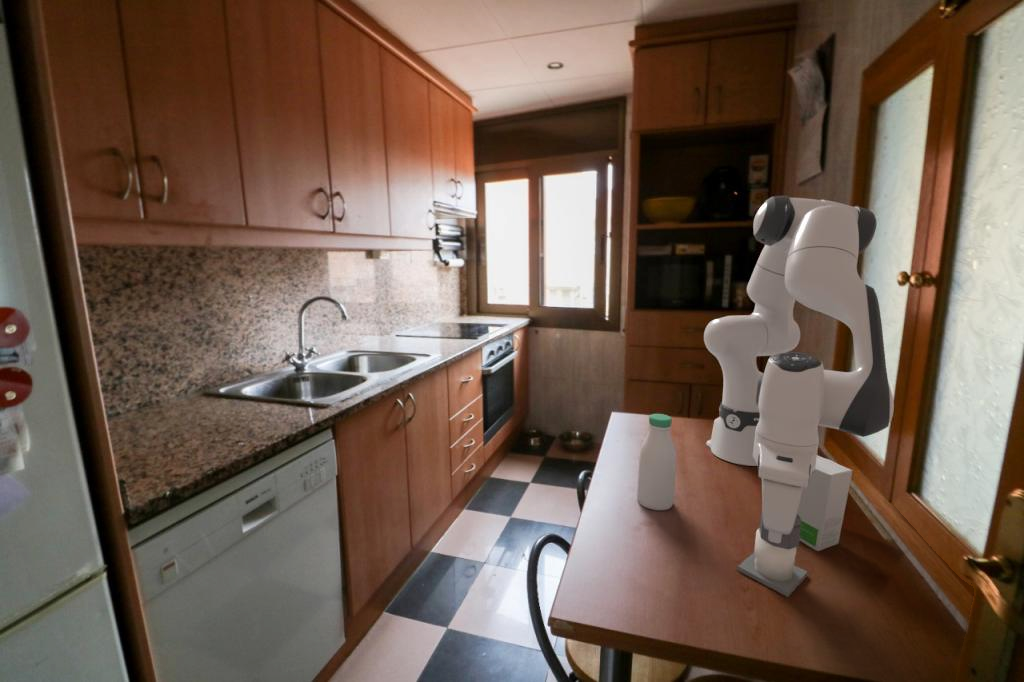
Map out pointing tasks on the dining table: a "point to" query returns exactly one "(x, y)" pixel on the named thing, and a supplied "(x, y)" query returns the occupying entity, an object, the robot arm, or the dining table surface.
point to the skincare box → (824, 504)
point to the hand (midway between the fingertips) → (774, 529)
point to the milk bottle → (657, 465)
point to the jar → (773, 567)
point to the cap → (783, 535)
